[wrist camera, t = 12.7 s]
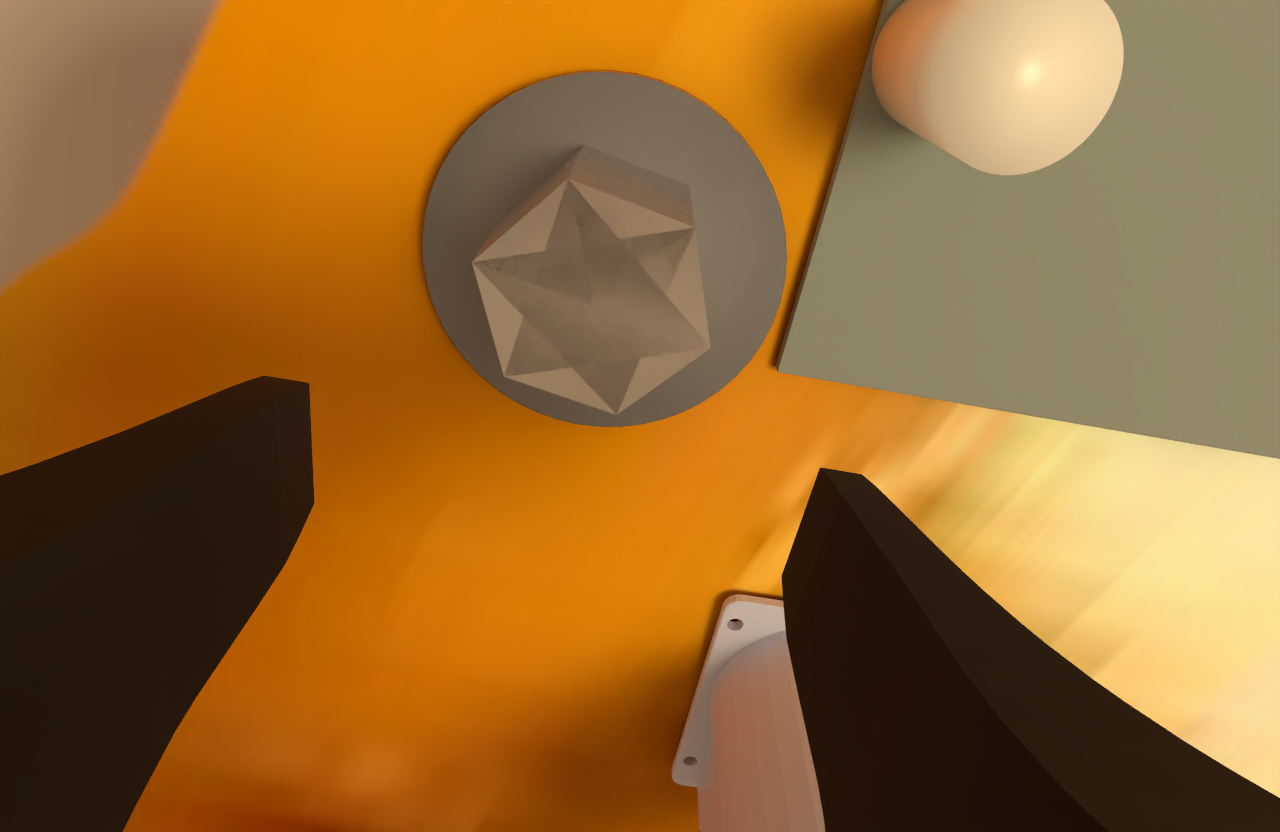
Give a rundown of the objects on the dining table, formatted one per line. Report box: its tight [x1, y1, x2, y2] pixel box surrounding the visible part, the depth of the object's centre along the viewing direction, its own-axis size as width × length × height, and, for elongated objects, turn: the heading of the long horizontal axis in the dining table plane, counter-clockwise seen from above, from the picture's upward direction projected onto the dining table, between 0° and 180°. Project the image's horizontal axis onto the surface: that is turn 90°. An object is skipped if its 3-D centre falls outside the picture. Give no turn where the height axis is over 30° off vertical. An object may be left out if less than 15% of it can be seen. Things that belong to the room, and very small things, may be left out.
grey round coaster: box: [422, 70, 787, 427], centre depth 19 cm, size 9×9×1 cm
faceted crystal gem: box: [472, 145, 711, 415], centre depth 17 cm, size 5×4×4 cm
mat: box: [776, 0, 1280, 459], centre depth 17 cm, size 15×16×1 cm
